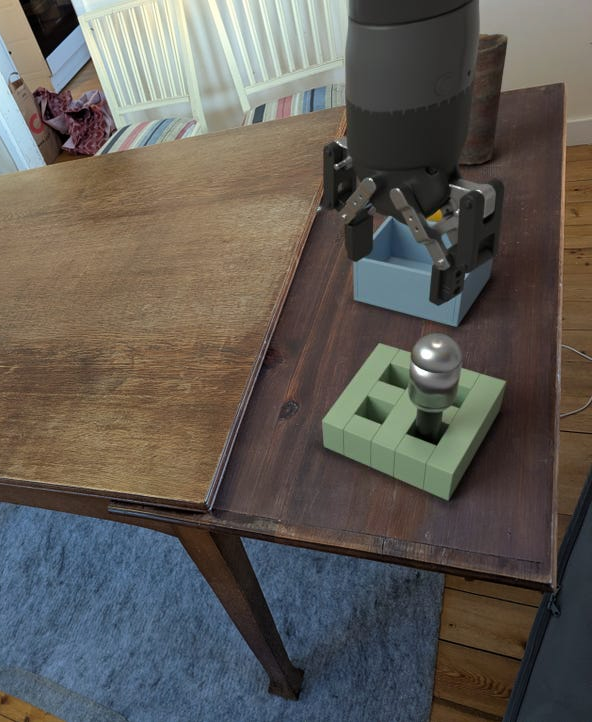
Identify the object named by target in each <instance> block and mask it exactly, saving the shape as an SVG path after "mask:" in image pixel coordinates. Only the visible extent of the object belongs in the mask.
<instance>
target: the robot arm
mask: <svg viewBox="0 0 592 722" xmlns="http://www.w3.org/2000/svg"><path fill="white" fill-rule="evenodd" d="M347 12H348V13H347V15H348V17H347V31H346V39H345V49H344V72H345V73H344V74H345V75H344V76H345V78H344V79H345V81H344V82H345V125H346V130H345V131H346V134H344V135H342V136H340V137H338V138H336V139H335V140H333V141H332V142H330V143H328V144H326V145H324V147H323V149H322V172H323V174H322V178H323V180H322V188H323V189H322V191H323V192H322V195H323V197H322V198H323V205H324V207H325V209H326V210H327V211H333V210H335V211H336V212H338V217H339V220H340V222H341V223H342V224H343V225H344V247H345V250H346V254H347V259H349V260H351V261H352V262H353V261H354V262H357V261H359V260H361V259H362V258H364V257H366V256H367V255H369V254H370V253H371V252H372V250H373V234H374V215H373V214H370V213H369V212H371V211H372V210H373V209H375V213H377V214H380V215H382V216H387V217H389V216H392V217H393V218H395V219H396V220H397V221H399V222H400V223H402V224H405V225H407V226H409V228H410V230H411V232H412V234H413V236H414V238H415V240H416V242H417V243H419V244H424V245H425V246H426V248H427V250H428V252H429V254H430V256H431V258H432V260H433V262H434V265H433V266H432V273H431V284H430V295H429V301H430V302H431V303H433V304H435V305H437V306H440V305H442V304H443V303H445V302H448V301H449V300H451V299H453V298H454V297H456V296H457V295H459V294H460V293H461V292H462V291H463V288H464V281H465V280H464V279H465V274H467V273H470V272H471V271H473V270H475V269H476V268H478V267H479V266H481V265H482V264H484V263H486V262H487V261H489V260H490V259H492V258H493V259H494V258H495V257H496V256H498V253H499V246H500V245H499V244H500V235H501V226H502V217H503V207H504V198H505V185H504V183H503V181H502V180H500V179H498V178H496V177H495V178H490V179H489V180H487V181H485V182H484V183H482V184H481V183H477V182H474V181H470V180H467V179H464V177H463V174H462V171H461V169H460V164H459V163H458V160H459V156H460V154H461V151H462V149H463V147H464V144H465V142H466V139H467V136H468V129H469V120H470V112H471V103H472V95H473V86H474V78H475V69H476V61H477V52H478V44H479V34H481V33H480V32H481V22H480V21H481V20H480V19H481V17H480V0H347ZM357 178H358V180H359V185H358V187H357ZM340 185H341V188H340V189H339V187H340ZM439 209H440V210H441V213H442V219H441V220H440V221H439V222H438V223H436V224H434V225H433V226H431V227H430V226H429V225H428V223H427V221H426V219H427V218H428V217H430V216H432V215H433V214H435V213H436V212H437V211H438V210H439ZM445 233H446V235H447V237H448V238H449V240H450V242H451V244H452V246H451V247H450V248H448V249H447V248H446V246H445V244H444V242H443V240H442V235H443V234H445Z"/></svg>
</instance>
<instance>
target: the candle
mask: <svg viewBox="0 0 592 722" xmlns="http://www.w3.org/2000/svg"><path fill="white" fill-rule="evenodd" d="M507 49H508V36H507V35H505V34H504V33H503V34H502V33H494V34H488V33H479V44H478V52H477V61H476V69H475V78H474V86H473V95H472V103H471V112H470V120H469V129H468V136H467V139H466V142H465V144H464V147H463V149H462V151H461V154H460V156H459V160H458V163H459V165H473V164H475V165H476V164H479V165H480V164H483V163H484V162H488V161H491V160H492V158H493V153H494V146H495V139H496V131H497V125H498V123H497V122H498V116H499V107H500V100H501V90H502V85H503V77H504V69H505V64H506V56H507Z"/></svg>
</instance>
